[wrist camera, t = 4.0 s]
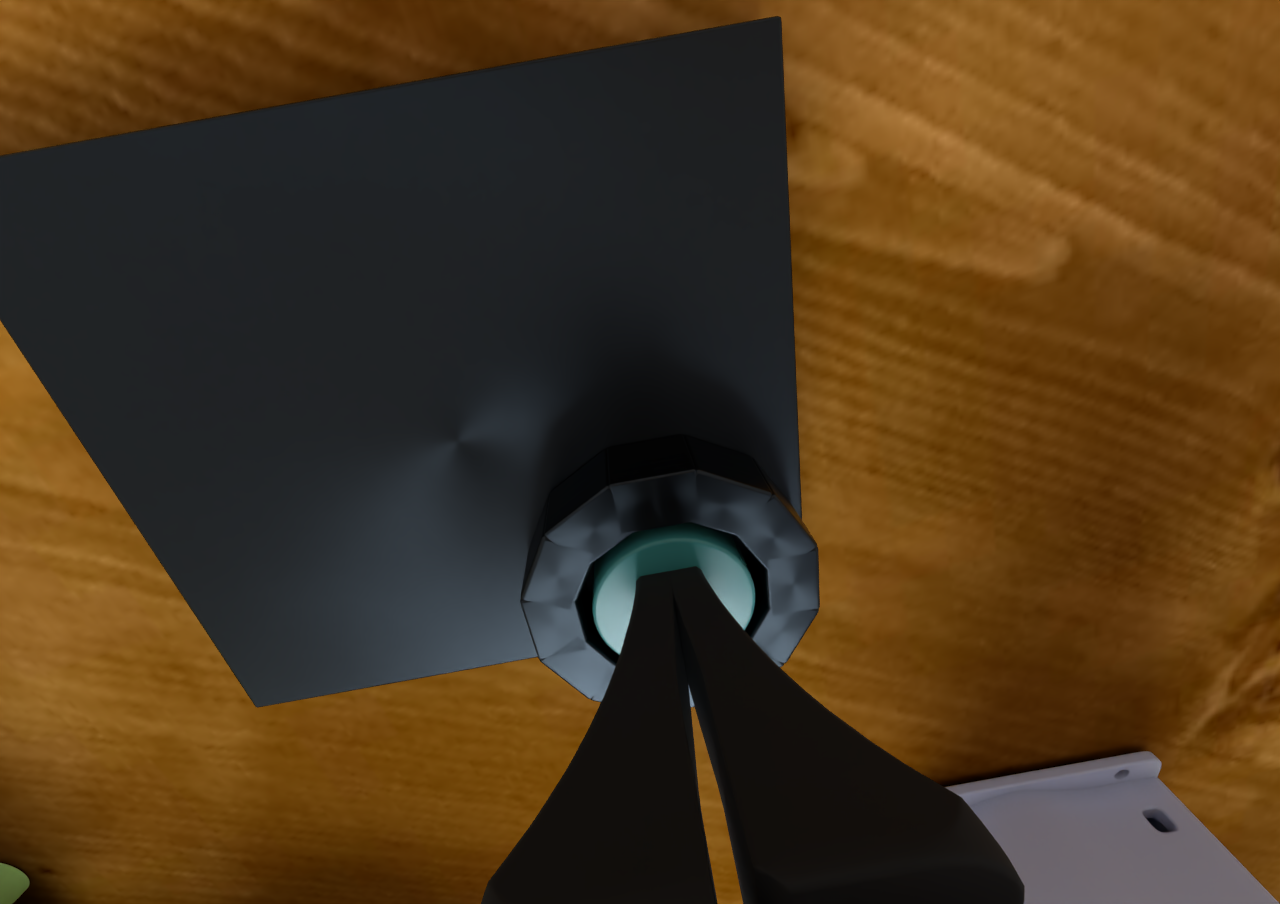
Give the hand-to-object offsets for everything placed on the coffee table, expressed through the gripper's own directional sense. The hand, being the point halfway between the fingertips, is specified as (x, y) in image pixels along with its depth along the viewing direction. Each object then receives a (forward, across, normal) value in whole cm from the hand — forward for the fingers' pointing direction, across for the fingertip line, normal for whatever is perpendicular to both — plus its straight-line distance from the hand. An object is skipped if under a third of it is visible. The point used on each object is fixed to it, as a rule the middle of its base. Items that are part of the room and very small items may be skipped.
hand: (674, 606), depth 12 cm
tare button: (+2, 0, 0) cm, 2 cm away
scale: (+3, +4, -4) cm, 6 cm away
